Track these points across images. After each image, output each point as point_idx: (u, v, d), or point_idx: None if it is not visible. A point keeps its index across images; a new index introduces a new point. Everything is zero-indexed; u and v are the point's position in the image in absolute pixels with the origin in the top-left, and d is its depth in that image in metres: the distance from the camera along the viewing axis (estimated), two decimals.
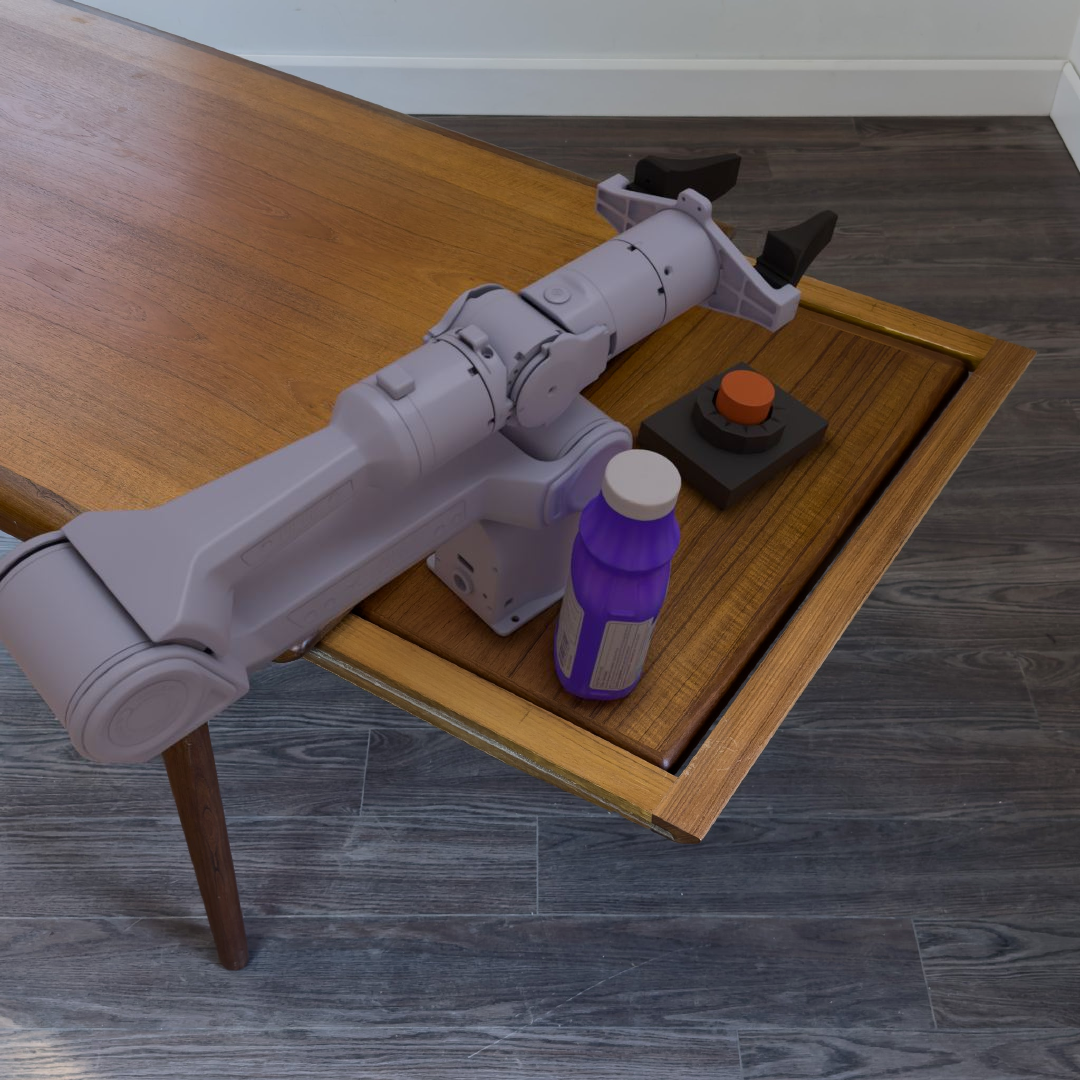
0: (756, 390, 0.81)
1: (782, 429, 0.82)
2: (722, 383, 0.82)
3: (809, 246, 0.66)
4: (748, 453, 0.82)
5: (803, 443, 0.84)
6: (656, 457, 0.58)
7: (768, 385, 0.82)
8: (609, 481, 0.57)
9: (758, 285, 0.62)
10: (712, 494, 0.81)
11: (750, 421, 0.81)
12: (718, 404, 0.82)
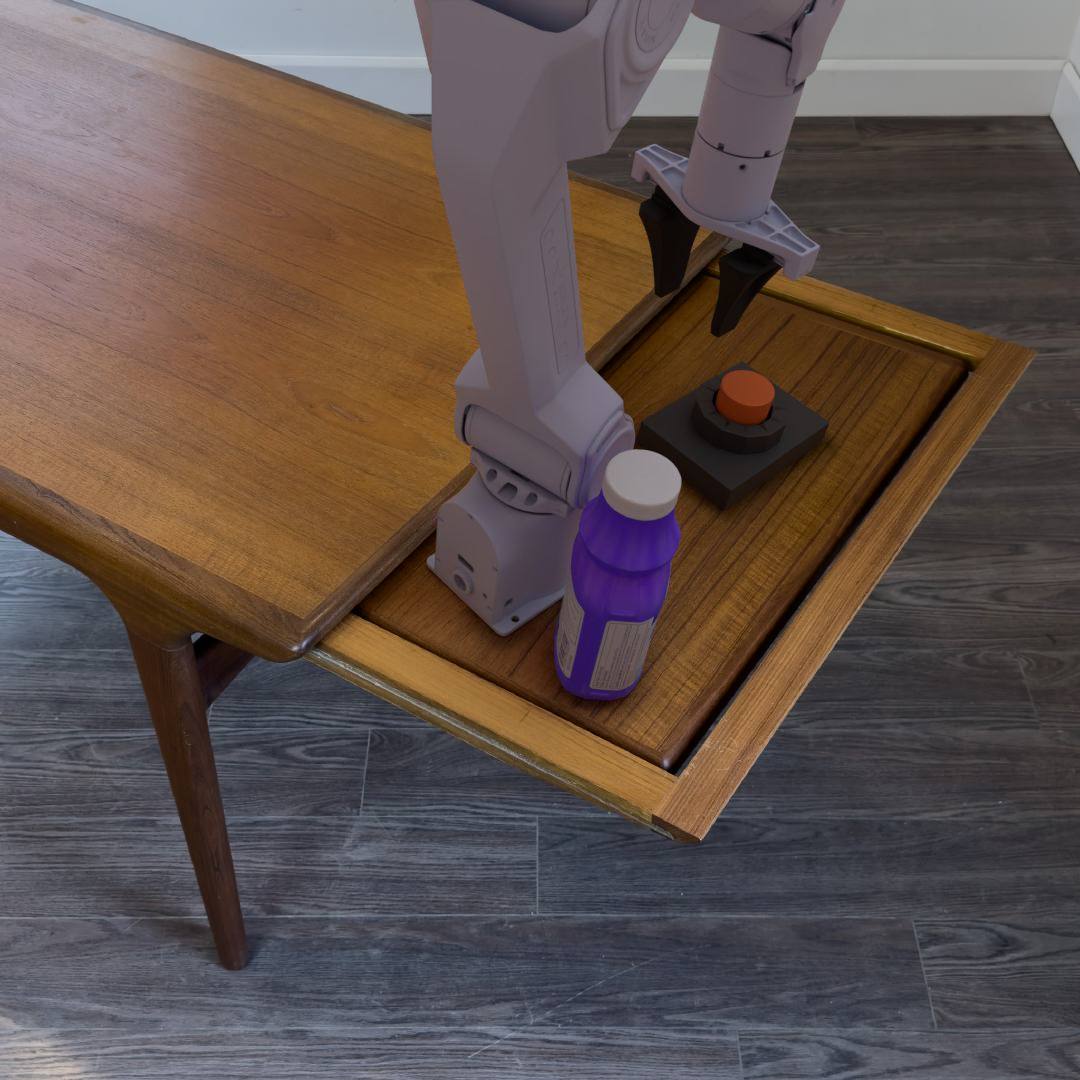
0: (756, 390, 0.81)
1: (782, 429, 0.82)
2: (722, 383, 0.82)
3: (738, 303, 0.76)
4: (748, 453, 0.82)
5: (803, 443, 0.84)
6: (656, 457, 0.58)
7: (768, 385, 0.82)
8: (610, 481, 0.57)
9: (801, 232, 0.71)
10: (712, 494, 0.81)
11: (750, 421, 0.81)
12: (718, 404, 0.82)
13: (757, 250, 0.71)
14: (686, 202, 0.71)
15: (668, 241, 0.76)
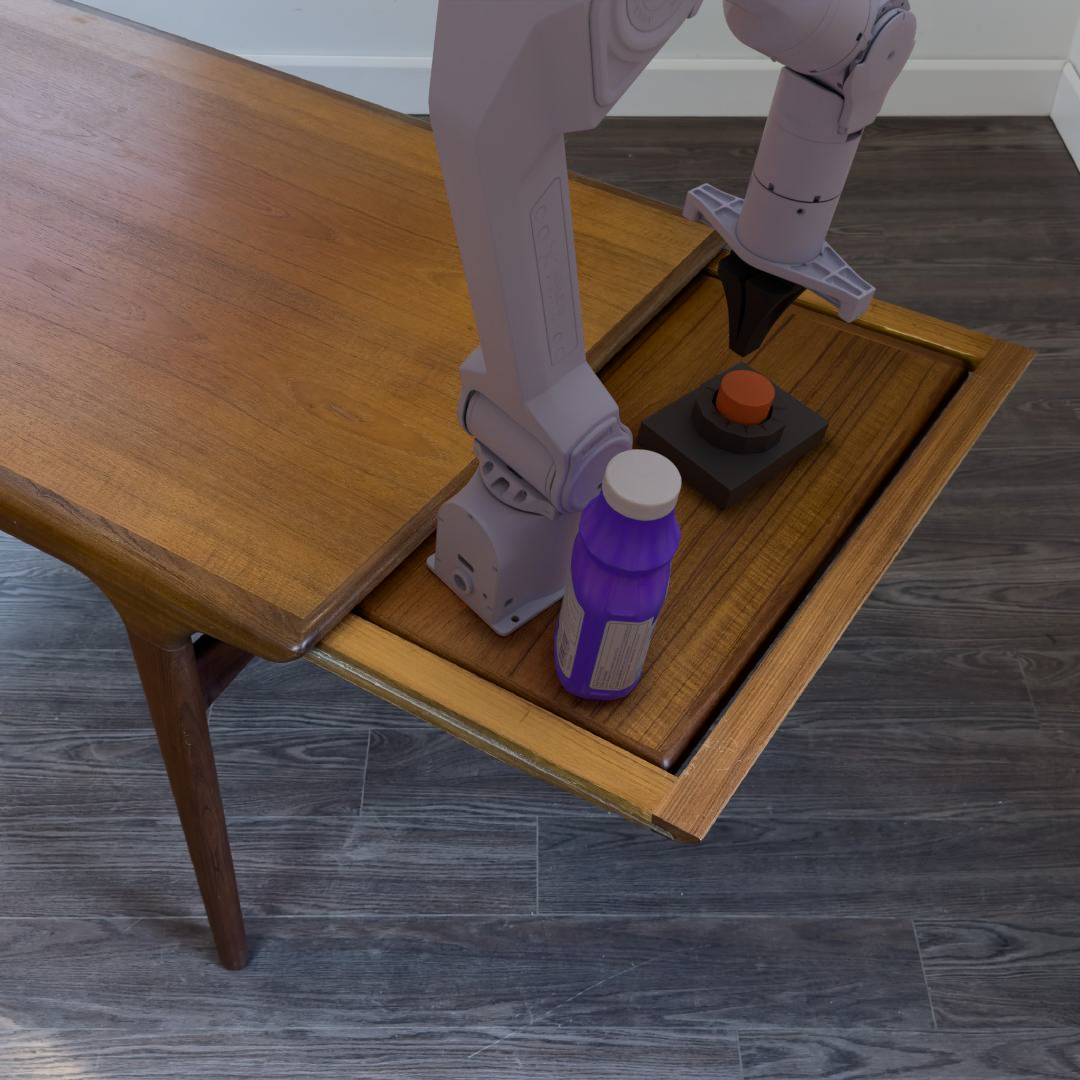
0: (756, 390, 0.81)
1: (782, 429, 0.82)
2: (722, 383, 0.82)
3: (762, 324, 0.77)
4: (748, 453, 0.82)
5: (803, 443, 0.84)
6: (656, 457, 0.58)
7: (768, 385, 0.82)
8: (610, 481, 0.57)
9: (856, 274, 0.71)
10: (712, 494, 0.81)
11: (750, 421, 0.81)
12: (718, 404, 0.82)
13: None
14: (741, 244, 0.71)
15: None
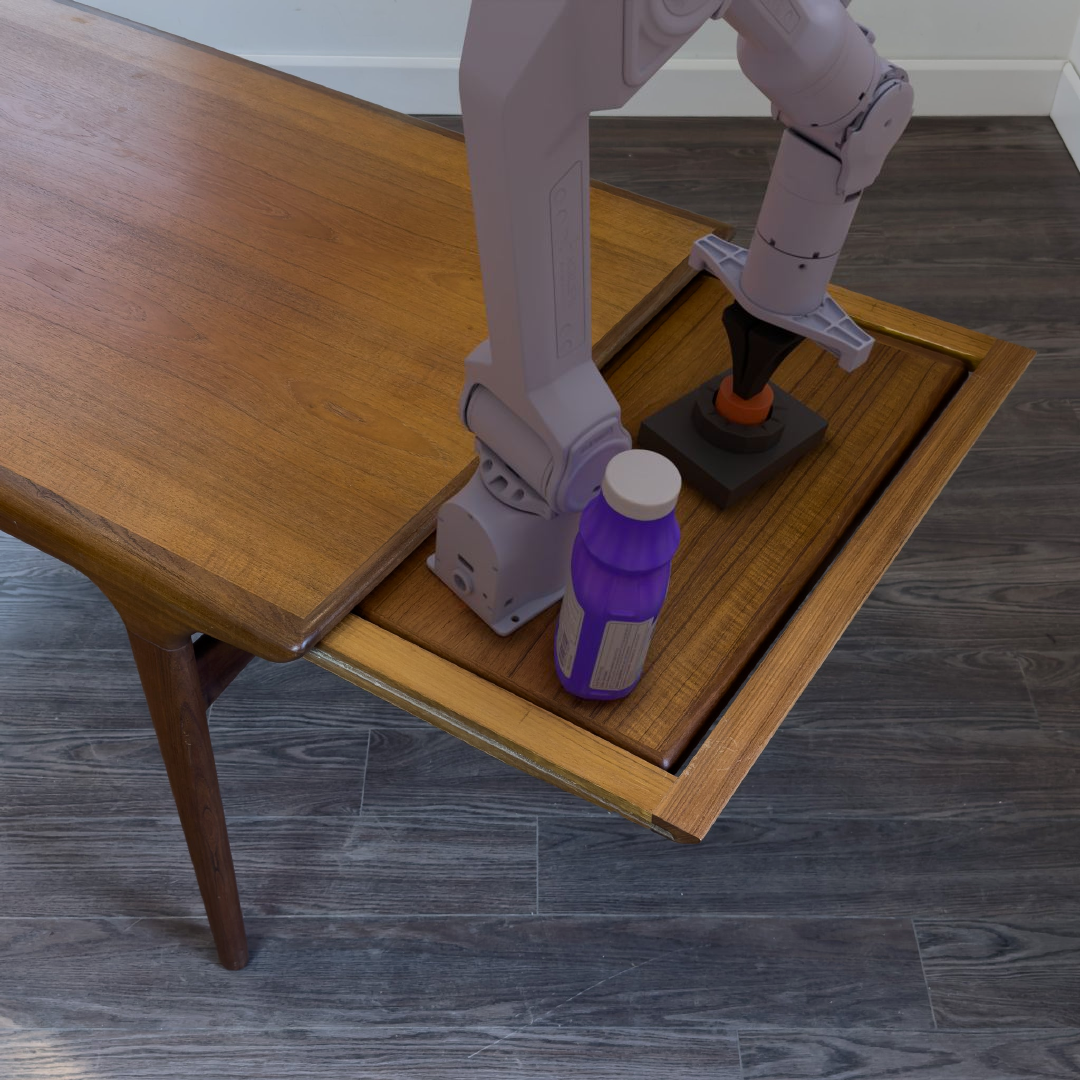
0: None
1: (782, 429, 0.82)
2: (721, 386, 0.82)
3: (765, 369, 0.79)
4: (748, 453, 0.82)
5: (803, 443, 0.84)
6: (656, 457, 0.58)
7: (767, 388, 0.82)
8: (610, 481, 0.57)
9: (856, 325, 0.73)
10: (712, 494, 0.81)
11: (748, 424, 0.82)
12: (717, 407, 0.82)
13: None
14: (745, 295, 0.74)
15: None
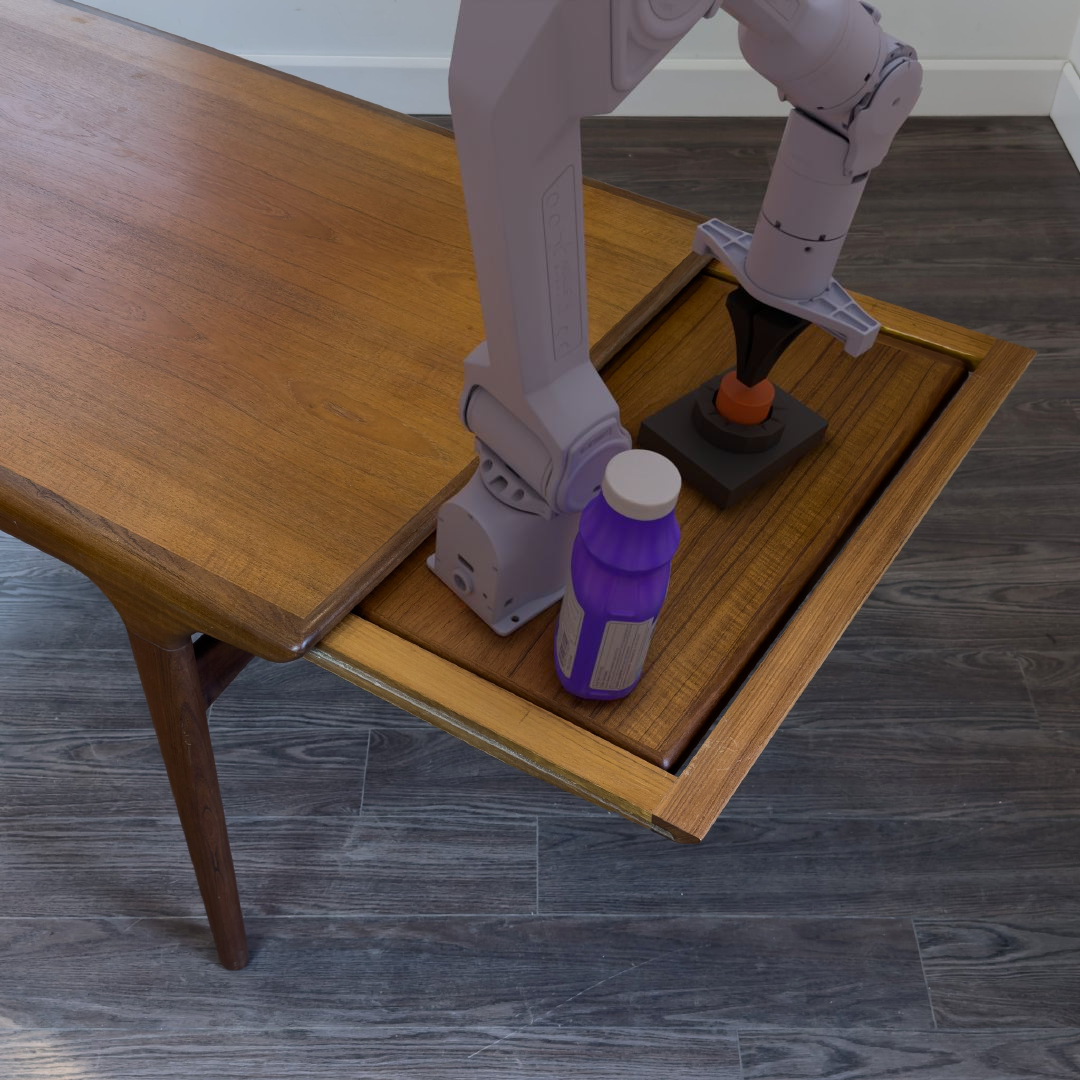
0: (756, 390, 0.81)
1: (782, 429, 0.82)
2: (722, 383, 0.82)
3: (770, 355, 0.78)
4: (748, 453, 0.82)
5: (803, 443, 0.84)
6: (656, 457, 0.58)
7: (768, 385, 0.82)
8: (610, 481, 0.57)
9: (862, 309, 0.72)
10: (712, 494, 0.81)
11: (750, 421, 0.81)
12: (718, 404, 0.82)
13: None
14: (749, 279, 0.73)
15: (754, 331, 0.77)
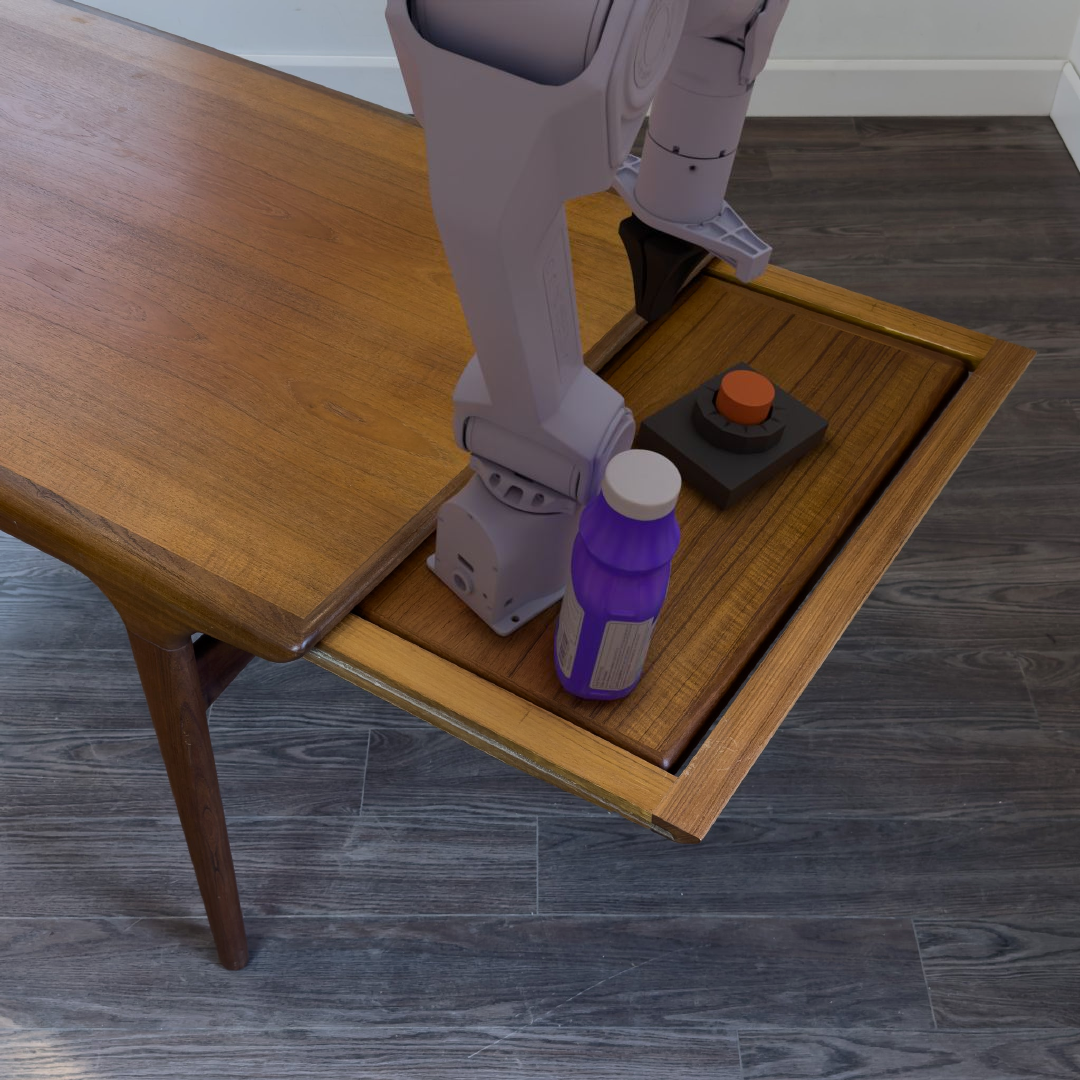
0: (756, 390, 0.81)
1: (782, 429, 0.82)
2: (722, 383, 0.82)
3: (667, 287, 0.76)
4: (748, 453, 0.82)
5: (803, 443, 0.84)
6: (656, 457, 0.58)
7: (768, 385, 0.82)
8: (610, 481, 0.57)
9: (753, 234, 0.70)
10: (712, 494, 0.81)
11: (750, 421, 0.81)
12: (718, 404, 0.82)
13: None
14: (638, 203, 0.70)
15: None
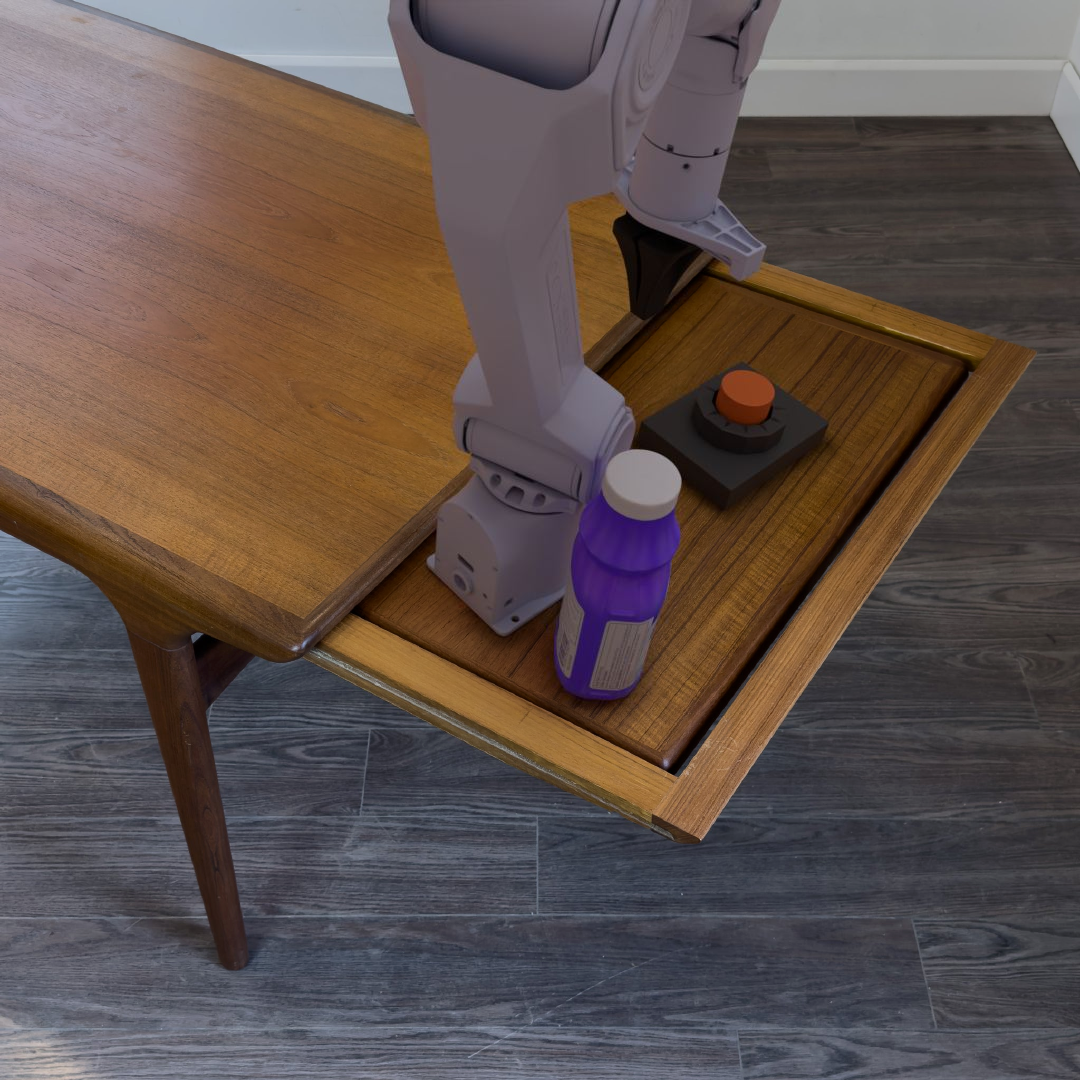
0: (756, 390, 0.81)
1: (782, 429, 0.82)
2: (722, 383, 0.82)
3: (662, 286, 0.76)
4: (748, 453, 0.82)
5: (803, 443, 0.84)
6: (656, 457, 0.58)
7: (768, 385, 0.82)
8: (610, 481, 0.57)
9: (747, 232, 0.70)
10: (712, 494, 0.81)
11: (750, 421, 0.81)
12: (718, 404, 0.82)
13: None
14: (632, 202, 0.70)
15: None
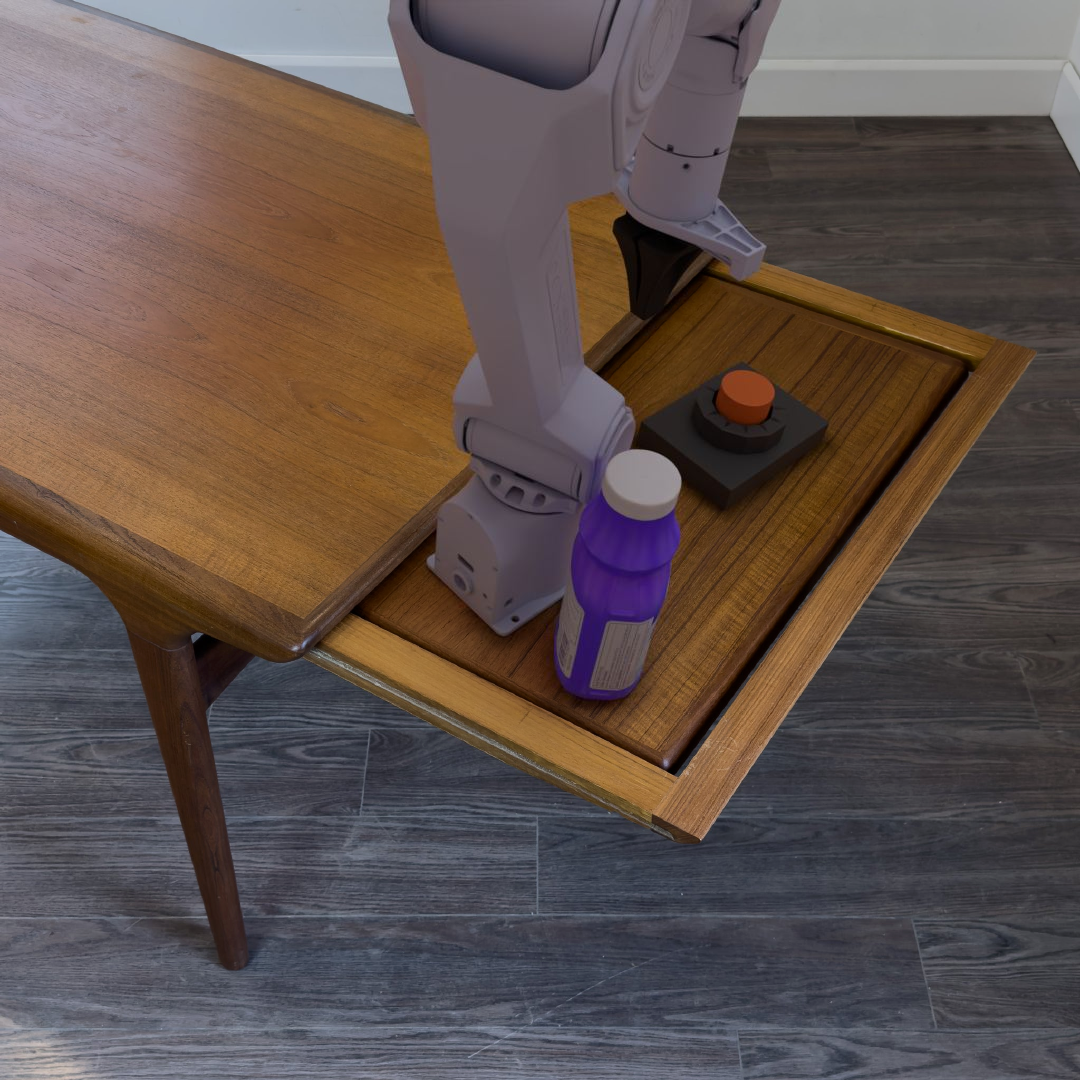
0: (756, 390, 0.81)
1: (782, 429, 0.82)
2: (722, 383, 0.82)
3: (662, 286, 0.76)
4: (748, 453, 0.82)
5: (803, 443, 0.84)
6: (656, 457, 0.58)
7: (768, 385, 0.82)
8: (610, 481, 0.57)
9: (747, 232, 0.70)
10: (712, 494, 0.81)
11: (750, 421, 0.81)
12: (718, 404, 0.82)
13: None
14: (632, 202, 0.70)
15: None
